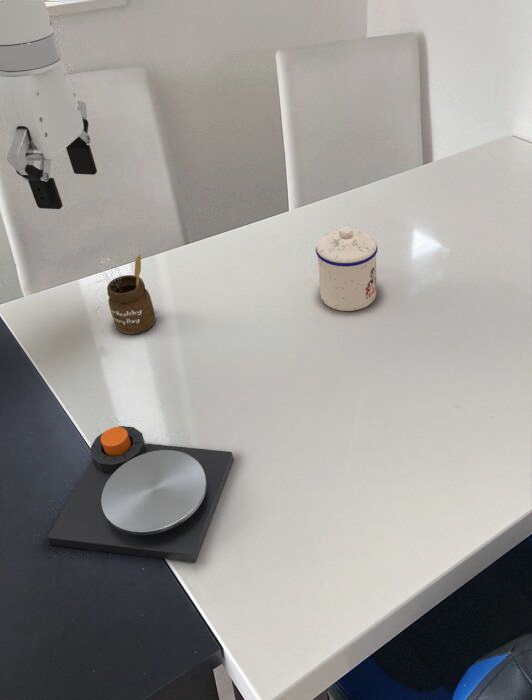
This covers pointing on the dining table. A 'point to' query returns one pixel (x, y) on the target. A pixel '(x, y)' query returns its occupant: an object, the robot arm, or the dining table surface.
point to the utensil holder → (130, 301)
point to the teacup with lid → (347, 269)
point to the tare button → (115, 441)
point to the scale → (99, 534)
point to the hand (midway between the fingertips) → (69, 189)
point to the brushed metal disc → (154, 492)
